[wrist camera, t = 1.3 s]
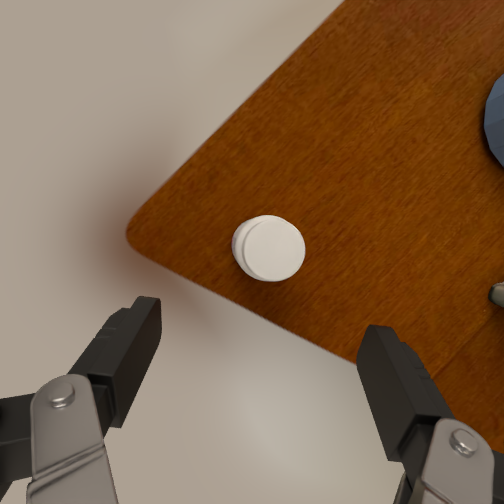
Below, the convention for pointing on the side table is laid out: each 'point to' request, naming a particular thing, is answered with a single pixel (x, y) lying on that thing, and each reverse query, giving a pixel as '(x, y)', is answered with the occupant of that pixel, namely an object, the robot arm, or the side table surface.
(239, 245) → the pill bottle
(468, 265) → the side table surface
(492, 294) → the cream rounded block
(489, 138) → the bowl
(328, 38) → the side table surface
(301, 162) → the side table surface
